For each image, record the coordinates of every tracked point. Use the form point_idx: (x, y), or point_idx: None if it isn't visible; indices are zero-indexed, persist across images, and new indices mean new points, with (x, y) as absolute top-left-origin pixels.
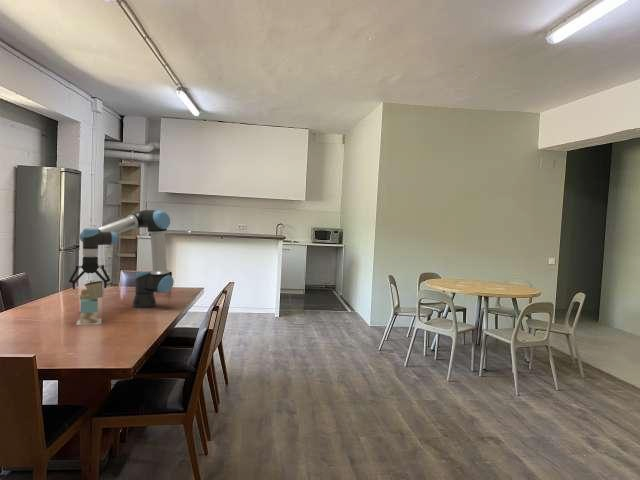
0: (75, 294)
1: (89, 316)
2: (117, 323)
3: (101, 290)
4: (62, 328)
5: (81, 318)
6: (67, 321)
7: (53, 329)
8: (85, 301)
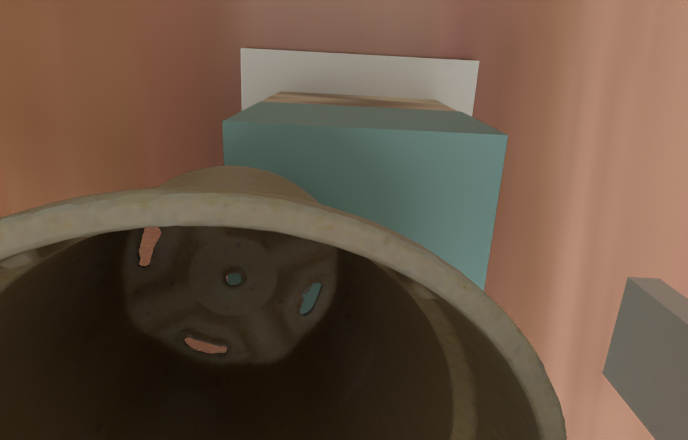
0: (661, 288)
1: (353, 102)
2: (92, 88)
3: (51, 285)
4: (599, 28)
5: (436, 104)
6: (526, 308)
7: (682, 9)
8: (427, 159)
